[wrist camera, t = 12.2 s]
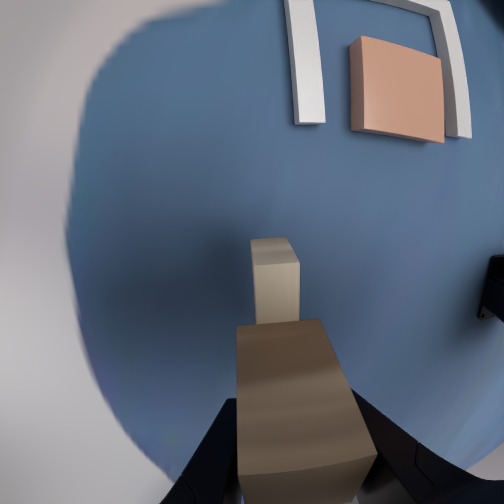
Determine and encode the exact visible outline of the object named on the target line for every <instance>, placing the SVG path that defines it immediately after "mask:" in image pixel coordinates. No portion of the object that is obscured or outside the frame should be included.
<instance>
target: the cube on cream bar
mask: <svg viewBox="0 0 504 504" xmlns="http://www.w3.org/2000/svg"><path fill="white" fill-rule="evenodd" d="M250 241H251V257H252V272H253V288H254V304H255V320H256V324H254V325H239V326H237V452H238V478H239V482H240V486H241V490H242V495H243V499H244V503H245V504H344V503H348V502H352V501H353V499H354V497H355V496H356V494H357V492H358V491H359V489H360V487H361V485H362V483H363V482H364V480H365V478H366V476H367V474H368V472H369V470H370V468H371V466H372V464H373V462H374V460H375V458H376V456H377V451H376V449H375V446H374V444H373V441H372V439H371V436H370V434H369V431H368V429H367V427H366V424H365V422H364V419H363V417H362V415H361V412H360V410H359V407H358V405H357V403H356V400H355V398H354V396H353V393H352V391H351V389H350V386H349V384H348V382H347V379H346V377H345V375H344V373H343V370H342V368H341V366H340V363H339V361H338V359H337V357H336V354H335V352H334V350H333V348H332V345H331V343H330V341H329V339H328V337H327V334H326V332H325V330H324V328H323V326H322V323H321V321H320V319H310V320H300V321H299V297H300V262H299V260H298V258H297V256H296V255H295V253H294V251H293V249H292V247H291V245H290V244H289V242H288V240H287V238H286V237H280V238H264V239H250Z"/></svg>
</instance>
